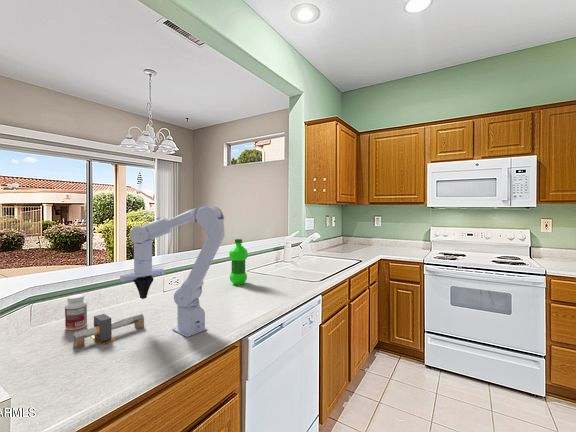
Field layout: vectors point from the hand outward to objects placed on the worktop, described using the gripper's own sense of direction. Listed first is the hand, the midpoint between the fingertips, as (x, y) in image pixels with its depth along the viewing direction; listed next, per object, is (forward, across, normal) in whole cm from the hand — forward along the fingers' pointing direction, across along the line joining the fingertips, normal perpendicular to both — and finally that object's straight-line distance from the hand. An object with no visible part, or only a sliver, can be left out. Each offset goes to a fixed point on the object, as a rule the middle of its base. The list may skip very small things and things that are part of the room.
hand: (143, 298), depth 102 cm
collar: (+10, +12, -1) cm, 16 cm away
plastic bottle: (+11, -61, -18) cm, 64 cm away
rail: (+10, +10, -1) cm, 14 cm away
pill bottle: (+11, +15, -18) cm, 26 cm away
